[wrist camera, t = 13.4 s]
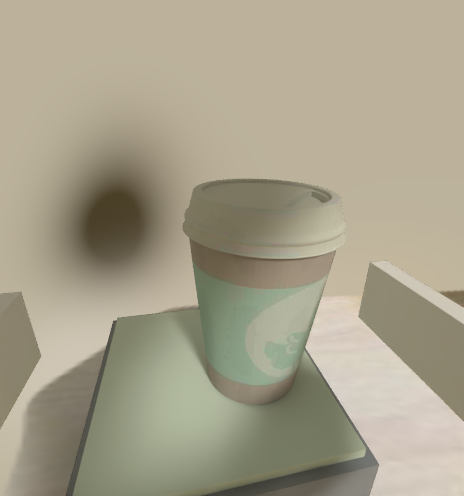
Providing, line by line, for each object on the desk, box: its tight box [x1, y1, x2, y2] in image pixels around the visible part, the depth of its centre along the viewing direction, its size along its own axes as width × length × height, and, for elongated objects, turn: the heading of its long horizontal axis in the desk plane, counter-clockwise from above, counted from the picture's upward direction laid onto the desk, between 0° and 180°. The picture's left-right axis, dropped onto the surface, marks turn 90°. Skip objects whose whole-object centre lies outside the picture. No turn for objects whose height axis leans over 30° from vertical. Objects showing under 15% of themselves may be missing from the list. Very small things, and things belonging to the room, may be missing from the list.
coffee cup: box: [183, 179, 346, 405], centre depth 17 cm, size 9×8×12 cm
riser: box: [66, 309, 379, 496], centre depth 21 cm, size 15×15×9 cm
